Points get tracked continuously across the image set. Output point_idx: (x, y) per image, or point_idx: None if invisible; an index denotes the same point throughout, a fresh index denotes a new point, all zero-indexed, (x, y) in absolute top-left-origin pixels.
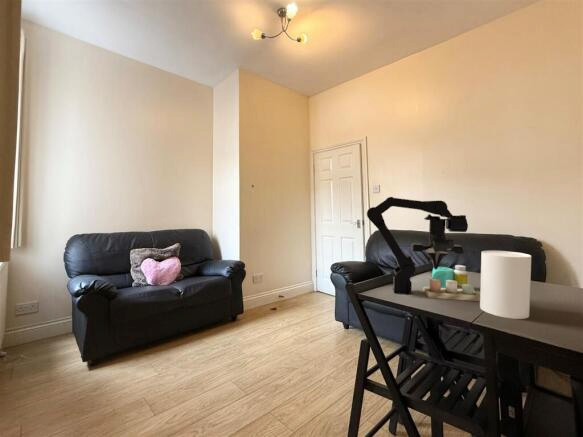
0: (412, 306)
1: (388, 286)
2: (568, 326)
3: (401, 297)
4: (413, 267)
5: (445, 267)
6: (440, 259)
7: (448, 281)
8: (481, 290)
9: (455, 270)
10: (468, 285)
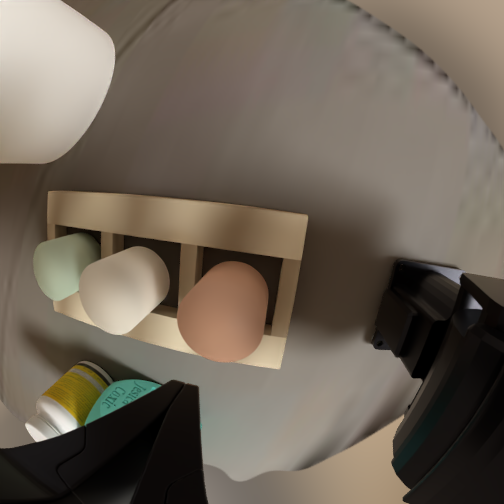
0: (427, 69)
1: None
2: None
3: (453, 203)
4: (500, 336)
5: None
6: (56, 447)
7: (126, 294)
8: (55, 52)
9: None
10: (48, 272)
